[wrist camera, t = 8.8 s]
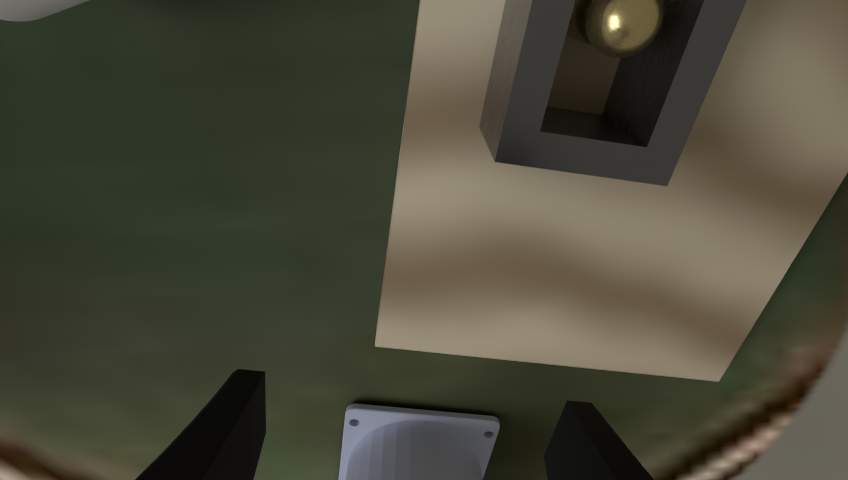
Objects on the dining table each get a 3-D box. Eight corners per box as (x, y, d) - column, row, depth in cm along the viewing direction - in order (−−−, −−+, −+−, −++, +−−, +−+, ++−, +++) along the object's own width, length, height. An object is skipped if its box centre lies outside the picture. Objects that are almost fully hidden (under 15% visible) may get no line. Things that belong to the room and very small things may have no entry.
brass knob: (604, 48, 15) (659, 68, 12) (549, 38, 15) (588, 56, 11) (624, -17, 14) (691, -15, 11) (566, -28, 14) (614, -29, 11)
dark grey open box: (620, 147, 16) (666, 186, 13) (479, 126, 16) (494, 161, 13) (723, -141, 13) (823, -179, 10) (542, -179, 12) (586, -231, 9)
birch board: (701, 358, 23) (718, 381, 22) (376, 324, 22) (374, 346, 21) (996, -155, 14) (1057, -169, 13) (456, -276, 12) (461, -306, 11)
